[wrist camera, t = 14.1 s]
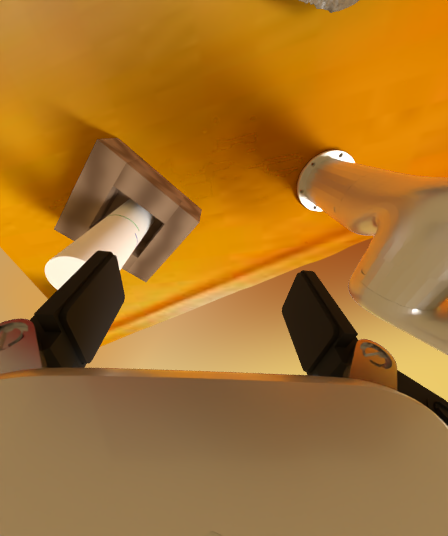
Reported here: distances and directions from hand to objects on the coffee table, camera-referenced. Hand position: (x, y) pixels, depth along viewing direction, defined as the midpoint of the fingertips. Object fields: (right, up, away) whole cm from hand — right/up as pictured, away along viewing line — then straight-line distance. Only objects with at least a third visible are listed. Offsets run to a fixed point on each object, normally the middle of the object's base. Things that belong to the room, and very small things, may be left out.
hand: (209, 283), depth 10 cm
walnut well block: (-19, +14, +36) cm, 43 cm away
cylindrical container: (-19, +14, +35) cm, 42 cm away
